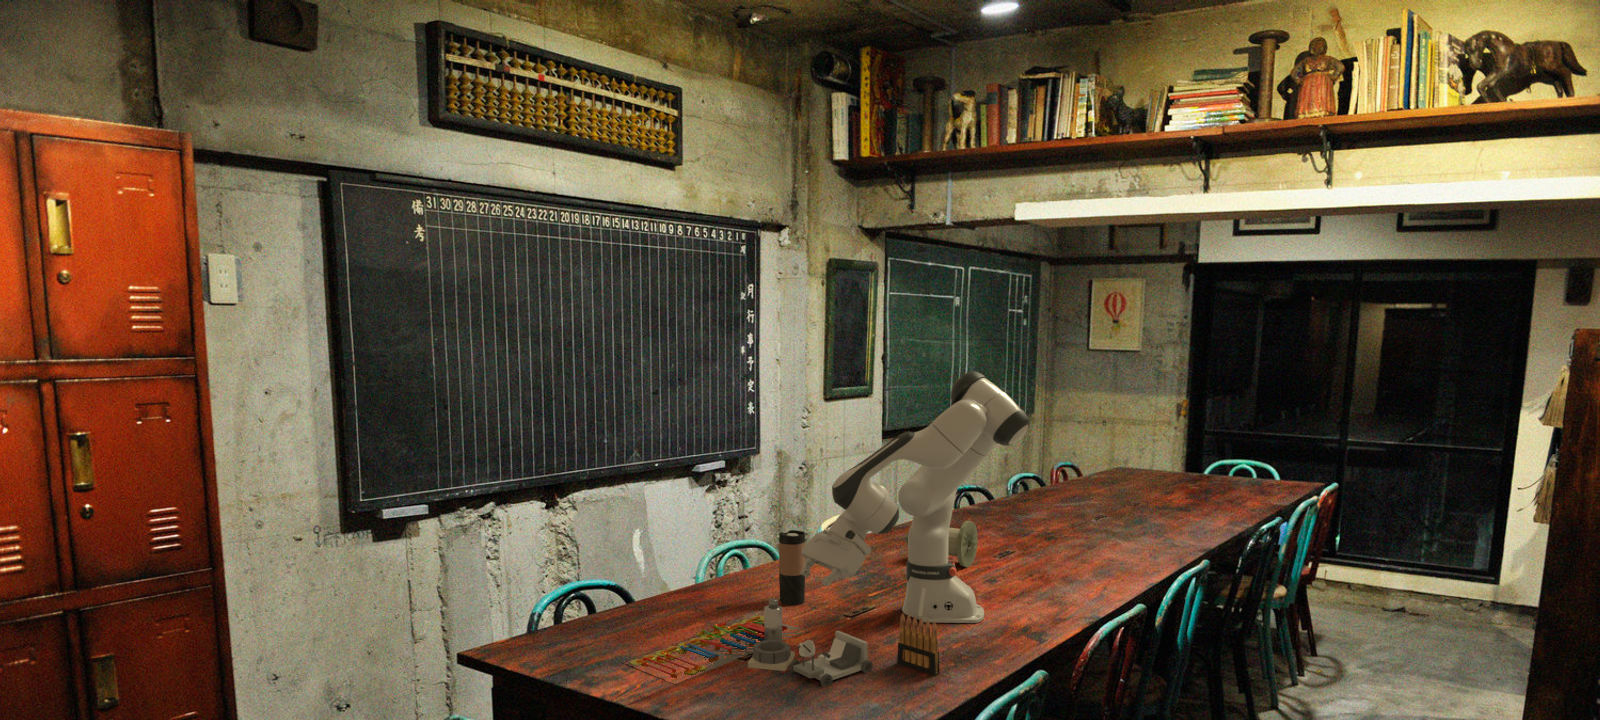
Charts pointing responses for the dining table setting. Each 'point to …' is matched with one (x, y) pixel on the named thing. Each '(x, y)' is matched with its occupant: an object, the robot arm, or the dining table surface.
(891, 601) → the dining table surface
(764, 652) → the socket plate
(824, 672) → the small toy car
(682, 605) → the dining table surface
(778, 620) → the grey peg
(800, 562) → the travel mug
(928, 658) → the ammunition clip
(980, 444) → the robot arm
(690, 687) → the dining table surface
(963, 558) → the spool
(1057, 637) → the dining table surface
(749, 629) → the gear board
